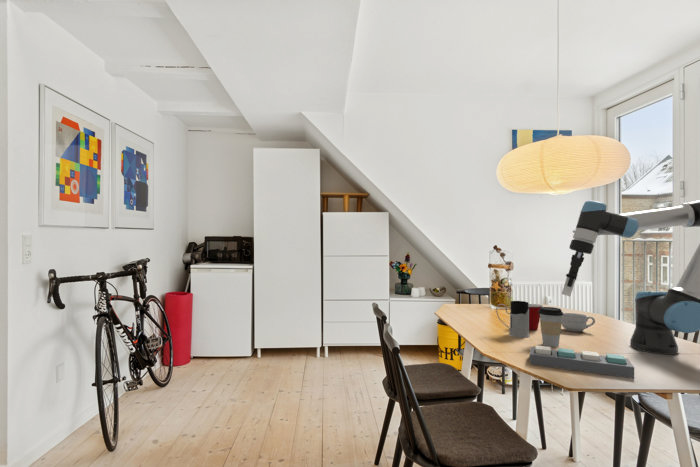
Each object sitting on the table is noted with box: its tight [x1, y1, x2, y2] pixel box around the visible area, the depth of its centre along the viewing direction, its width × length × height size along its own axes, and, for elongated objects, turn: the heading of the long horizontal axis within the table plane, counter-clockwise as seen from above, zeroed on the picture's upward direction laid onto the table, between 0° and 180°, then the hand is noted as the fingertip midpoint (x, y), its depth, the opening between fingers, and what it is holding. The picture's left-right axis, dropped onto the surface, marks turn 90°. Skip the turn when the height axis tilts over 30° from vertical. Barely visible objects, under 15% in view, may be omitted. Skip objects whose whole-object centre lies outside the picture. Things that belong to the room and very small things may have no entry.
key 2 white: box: [581, 350, 600, 361], centre depth 133 cm, size 5×5×2 cm
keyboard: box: [529, 346, 635, 379], centre depth 135 cm, size 30×10×4 cm, turn 64°
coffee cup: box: [538, 306, 564, 348], centre depth 162 cm, size 9×9×15 cm
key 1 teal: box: [605, 353, 626, 364], centre depth 130 cm, size 5×5×2 cm
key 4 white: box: [535, 344, 552, 355], centre depth 140 cm, size 5×5×2 cm
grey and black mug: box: [495, 300, 531, 339], centre depth 178 cm, size 9×14×15 cm, turn 75°
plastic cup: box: [529, 303, 544, 331], centre depth 191 cm, size 11×11×12 cm
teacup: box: [561, 312, 596, 333], centre depth 186 cm, size 14×11×8 cm
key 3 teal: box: [557, 347, 575, 358], centre depth 137 cm, size 5×5×2 cm
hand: (565, 295), depth 149 cm, fingers open, 13 cm apart
